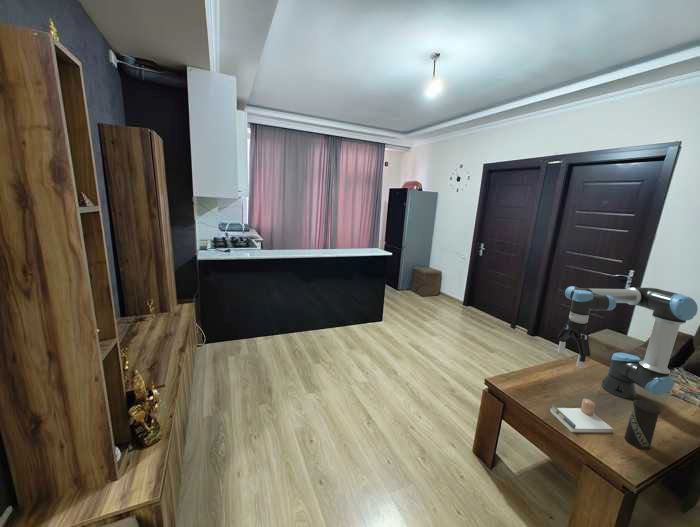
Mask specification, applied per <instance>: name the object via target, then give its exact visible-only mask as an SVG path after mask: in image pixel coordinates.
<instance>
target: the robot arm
mask: <svg viewBox="0 0 700 527" xmlns="http://www.w3.org/2000/svg"><path fill="white" fill-rule="evenodd" d="M564 296H565V297H566V299H568V300H570V301H571V305H570V310H569V315H568V320H567V323H566V324H563V327H562V329H561V330H560V331H559V333H558V334H557V336H556V338H557V339H558V347H557V348H558V349H557V353H558V354H564V353H565V349H566V344H567V342H566V341H567V340H569V339H570V338H572V339H573V340H574V341H575V342H576V344H577V349H578V350H579V351H578V352H579V354H577V355H578V356H577V360H576V364H575V365H576V366H575V367H576V368H584V364H585V362H586V359H587V358H586V357H591V350H590V342H589V337H590V336H589V335H588V334H584V332H585V331H586V330H587V327H588V322H589V317H590V312H591V311H601V312H603V311H604V312H606V311H613V310H614V309H615V308H616V306H617V304H628V305H629V306H639V307H642V308H645V309H648V310H651V311H652V317H653V318H654V319H655V320H654V323H653V326H652V330H651V334H650V338H649V340H648V344H647V348H646V351H645V355H644V358H643V360H641V358H640V357H639V356H637V355H633V354H630V353H626V352H625V353H624V352H615V353H613V354H612V357H611V358H610V363H609V368H608V372H607V375H606V376H604V379H603V380H602V381H601V382H600V383H601V384H600V386H601V388H602V389H604V390H605V391H606V392H607V393H610V394H612V395H614V396H616V397H619V398H623V399H627V400H635V398H636V397H637V390H636V385H637V386H639V387H640V388H642V389H644V390H645V391H647V392H649V393H651V394H653V395H656V396H660V395H662V396H663V395H666V394H667V393H669V392H671V391H672V390H673V388H674V386H675V384H676V383H675V380H674V379H673V378H672V377H671V376H670V375H671V370H670V368H668V366H669V363H670V359H671V356H672V353H673V349H674V346H675V343H676V340H677V336H678V334H679V333H678V332H679V331H680V330H679V329H680V327H681V325H683V324H686V322H687V321H691V320H693V319H694V317H695V316H696V315H697V314H698V304H697V302H696V301H695V300H694V299H693V298H692V297H691V296H686V295H684V294H682V293H677V292H672V291H668V290H663V289H660V288H656V287H655V288H654V287H626V288H625V289H624V288H584V287H582V288H581V287H578V286H573V285H571V286H568V287H567V288H566V289H565V292H564Z"/></svg>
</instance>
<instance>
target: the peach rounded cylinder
mask: <svg viewBox="0 0 700 527" xmlns="http://www.w3.org/2000/svg"><path fill="white" fill-rule="evenodd" d="M580 408H581V412H582V413H584V414H586V415H589V416H593V413H594V412H595V409H596V402H595V401H593V400H591V399H589V398H583V399H582V402H581V406H580ZM594 414H595V413H594Z"/></svg>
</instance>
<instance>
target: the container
mask: <svg viewBox="0 0 700 527" xmlns="http://www.w3.org/2000/svg"><path fill="white" fill-rule="evenodd" d="M632 403H633V404H632V405H633V406H632V409H631V413H630V417H629V420H628V423H627V427H626V430H625V433H624V434H625V435H624V440H625V441H626V443H628V444H629V445H631V446H633V447H635V448H638V449H641V450H644V451H648V450H650V449H651V446H652V442H653V438H654V434H655V430H656V427H657V422H658V419H659V415H661V413H662V411H661V408H659V406H657V405H656V404H654V403H652V402H649V401H647V400H644V399H633V401H632Z"/></svg>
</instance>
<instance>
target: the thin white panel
mask: <svg viewBox="0 0 700 527" xmlns="http://www.w3.org/2000/svg"><path fill="white" fill-rule="evenodd" d="M549 412H550V413H551V414H552V415H553V416H554V417H556V419H557V420H559V421H560V423H561V424H563V425H564V426H565V427H566V428H567V429H568V430H569V431H570V432H571V433H613V430H614V429H613V427H611V426H610V425H609V424H608V423H606V422H605V421H604V420H603V419H602V418H600V417H599V416H597V415H596V414H595V413H593V416H589V415H586V414H584V413H582V412H581V407H575V408H574V407H557V406H555V405H554V404H551V406H550V410H549Z"/></svg>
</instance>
